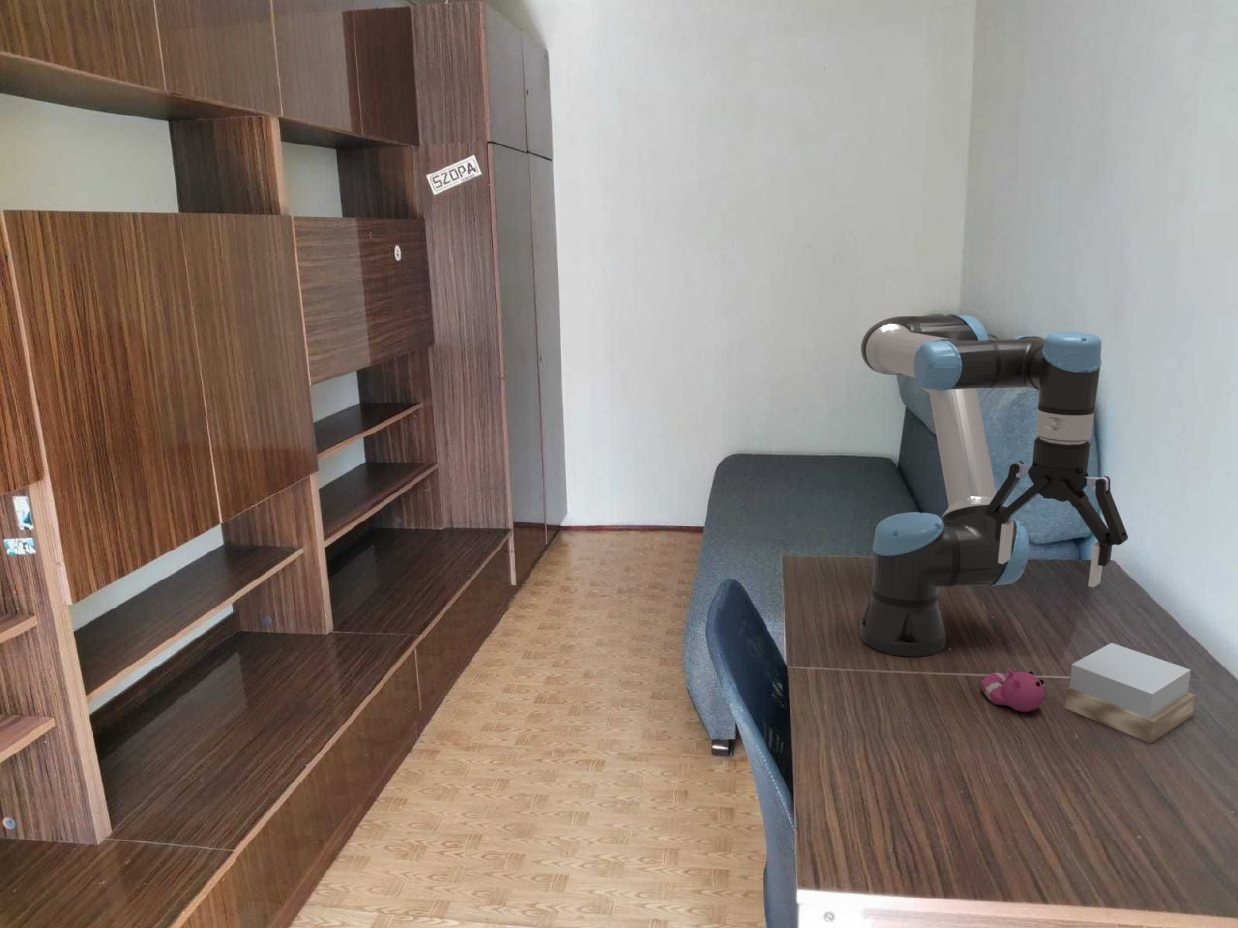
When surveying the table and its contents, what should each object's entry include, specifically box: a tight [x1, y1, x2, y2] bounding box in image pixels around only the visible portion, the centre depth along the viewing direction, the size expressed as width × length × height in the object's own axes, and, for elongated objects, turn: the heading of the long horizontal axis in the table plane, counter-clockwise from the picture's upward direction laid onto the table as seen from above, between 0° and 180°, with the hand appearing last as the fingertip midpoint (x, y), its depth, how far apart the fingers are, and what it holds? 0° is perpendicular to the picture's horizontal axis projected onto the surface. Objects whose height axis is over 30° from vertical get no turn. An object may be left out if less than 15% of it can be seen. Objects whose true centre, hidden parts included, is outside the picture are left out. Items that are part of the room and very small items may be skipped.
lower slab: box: [1064, 686, 1196, 744], centre depth 141 cm, size 13×13×4 cm
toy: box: [981, 667, 1046, 713], centre depth 146 cm, size 11×9×10 cm
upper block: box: [1068, 642, 1192, 719], centre depth 141 cm, size 12×12×4 cm
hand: (1047, 572), depth 140 cm, fingers open, 13 cm apart
